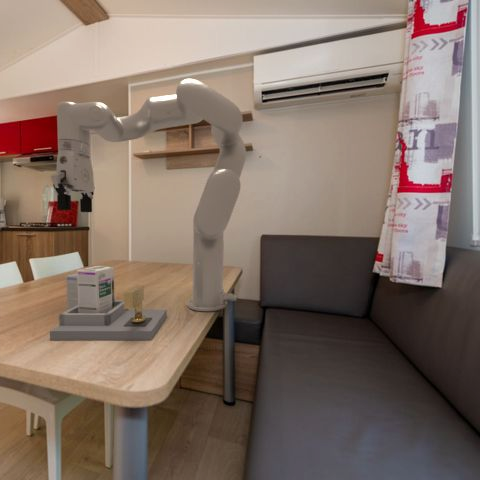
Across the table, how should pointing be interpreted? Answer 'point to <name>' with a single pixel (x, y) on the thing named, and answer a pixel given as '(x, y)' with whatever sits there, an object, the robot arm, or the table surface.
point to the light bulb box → (72, 291)
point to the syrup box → (95, 289)
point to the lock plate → (107, 324)
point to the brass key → (135, 302)
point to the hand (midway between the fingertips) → (76, 211)
